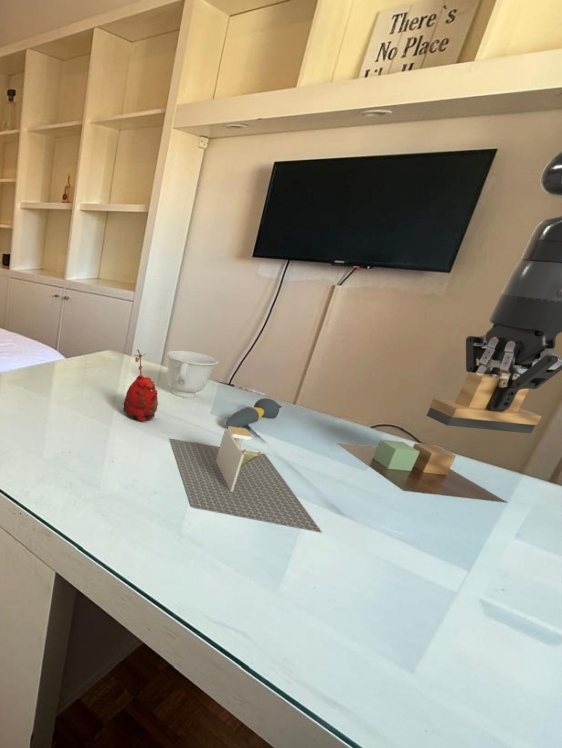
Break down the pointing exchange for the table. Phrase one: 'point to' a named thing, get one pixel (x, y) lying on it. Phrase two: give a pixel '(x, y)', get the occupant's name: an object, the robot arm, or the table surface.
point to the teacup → (188, 372)
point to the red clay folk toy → (141, 397)
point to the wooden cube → (433, 459)
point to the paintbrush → (254, 413)
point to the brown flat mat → (423, 478)
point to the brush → (483, 407)
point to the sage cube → (395, 455)
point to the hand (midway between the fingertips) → (485, 406)
